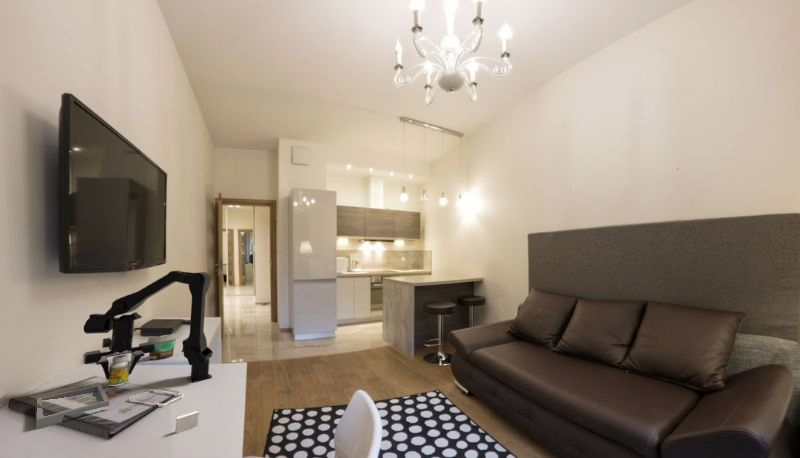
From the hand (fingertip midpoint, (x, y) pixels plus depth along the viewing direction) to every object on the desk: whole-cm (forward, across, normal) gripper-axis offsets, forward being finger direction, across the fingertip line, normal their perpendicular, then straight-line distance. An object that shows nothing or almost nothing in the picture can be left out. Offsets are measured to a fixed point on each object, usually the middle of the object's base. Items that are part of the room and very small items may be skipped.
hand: (118, 376), depth 110 cm
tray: (+2, +12, +13) cm, 18 cm away
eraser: (+3, -7, +51) cm, 52 cm away
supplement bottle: (+3, 0, 0) cm, 3 cm away
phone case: (+3, -6, +24) cm, 25 cm away
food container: (+3, -19, -23) cm, 30 cm away
